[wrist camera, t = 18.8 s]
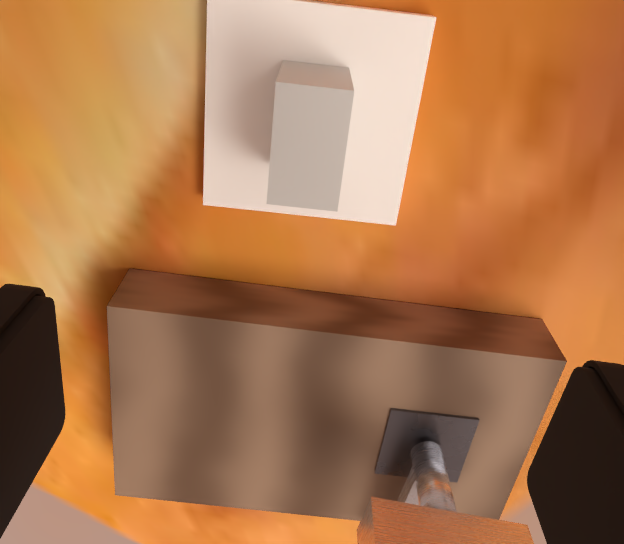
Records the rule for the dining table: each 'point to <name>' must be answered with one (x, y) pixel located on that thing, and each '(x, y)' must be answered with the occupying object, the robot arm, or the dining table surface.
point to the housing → (316, 395)
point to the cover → (311, 106)
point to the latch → (431, 511)
